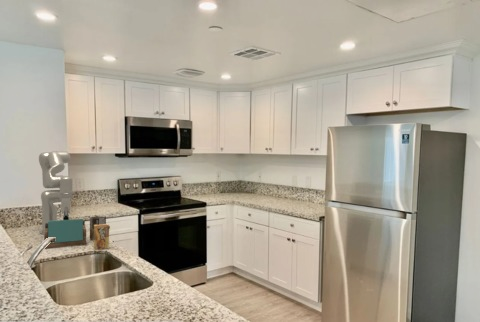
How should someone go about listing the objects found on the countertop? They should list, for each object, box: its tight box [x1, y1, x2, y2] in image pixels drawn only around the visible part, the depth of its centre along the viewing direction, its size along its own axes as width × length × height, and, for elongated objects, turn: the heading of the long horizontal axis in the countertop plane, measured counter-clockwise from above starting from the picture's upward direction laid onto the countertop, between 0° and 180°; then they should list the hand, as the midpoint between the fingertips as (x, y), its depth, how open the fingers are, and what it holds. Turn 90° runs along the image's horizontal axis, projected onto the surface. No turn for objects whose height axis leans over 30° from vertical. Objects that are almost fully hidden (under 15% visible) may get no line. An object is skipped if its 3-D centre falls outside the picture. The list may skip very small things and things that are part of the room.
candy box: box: [93, 223, 110, 250], centre depth 216 cm, size 9×4×15 cm, turn 116°
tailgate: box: [48, 218, 84, 243], centre depth 218 cm, size 1×20×14 cm, turn 119°
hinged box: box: [43, 219, 87, 250], centre depth 225 cm, size 16×24×13 cm, turn 118°
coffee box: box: [89, 215, 107, 241], centre depth 235 cm, size 9×6×16 cm
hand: (65, 223), depth 223 cm, fingers closed
